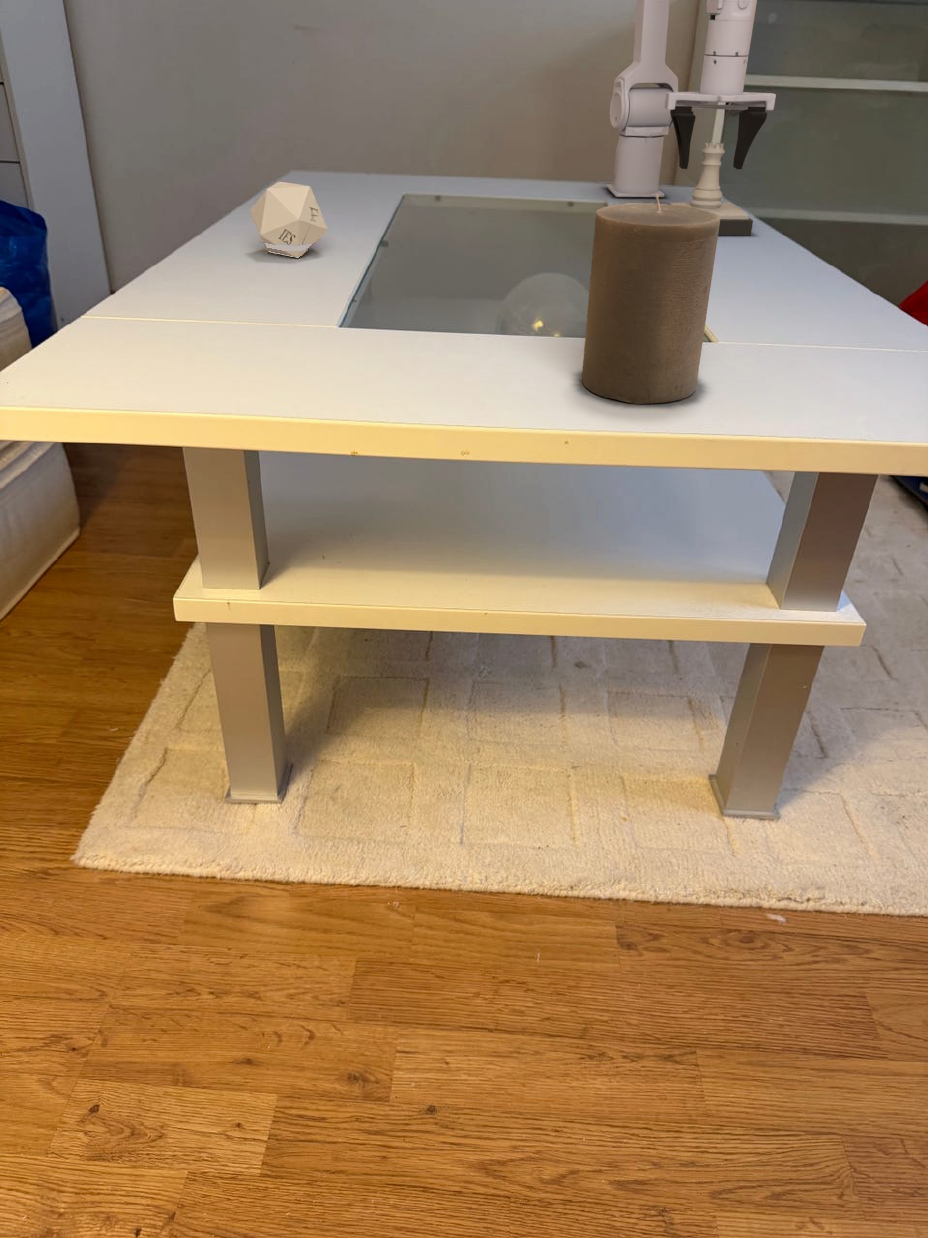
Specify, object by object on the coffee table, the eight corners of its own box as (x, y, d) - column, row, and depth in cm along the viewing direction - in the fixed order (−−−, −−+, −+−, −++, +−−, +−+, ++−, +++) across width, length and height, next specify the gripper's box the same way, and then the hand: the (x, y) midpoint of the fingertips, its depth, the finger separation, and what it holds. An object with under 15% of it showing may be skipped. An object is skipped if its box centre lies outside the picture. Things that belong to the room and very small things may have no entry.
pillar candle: (619, 411, 76) (640, 210, 68) (561, 373, 83) (573, 188, 75) (720, 395, 79) (751, 201, 71) (655, 359, 87) (677, 181, 78)
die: (261, 270, 115) (305, 201, 110) (224, 221, 118) (265, 151, 113) (309, 282, 122) (352, 218, 117) (273, 236, 125) (314, 171, 120)
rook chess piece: (724, 208, 134) (734, 145, 129) (692, 208, 134) (701, 145, 129) (718, 203, 137) (727, 141, 133) (687, 202, 137) (695, 141, 133)
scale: (663, 220, 140) (665, 201, 138) (730, 220, 140) (733, 201, 138) (679, 235, 131) (681, 215, 129) (750, 235, 131) (754, 215, 130)
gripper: (678, 56, 122) (665, 172, 129) (790, 57, 122) (770, 172, 130) (666, 53, 128) (654, 164, 135) (773, 54, 128) (755, 164, 136)
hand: (710, 167), depth 133 cm, fingers open, 7 cm apart
